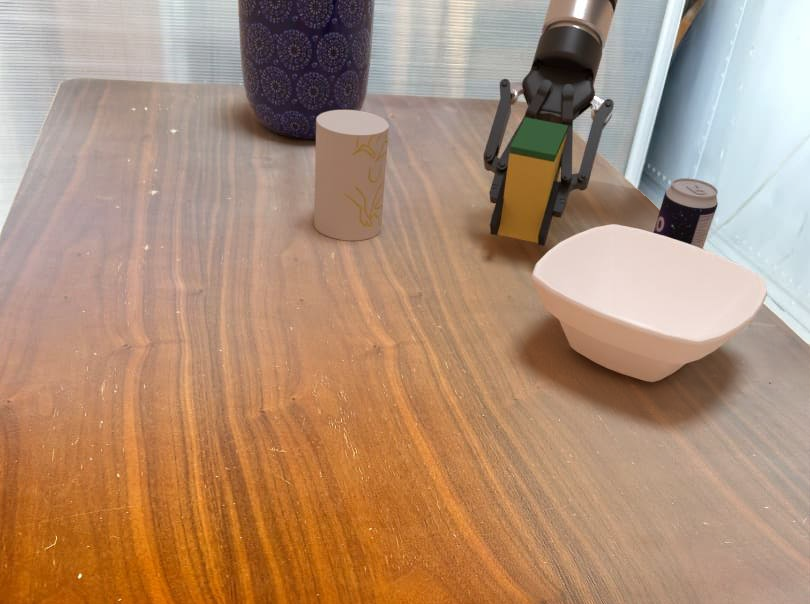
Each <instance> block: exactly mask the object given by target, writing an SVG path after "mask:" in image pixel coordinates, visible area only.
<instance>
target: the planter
mask: <svg viewBox="0 0 810 604" xmlns="http://www.w3.org/2000/svg"><path fill="white" fill-rule="evenodd" d="M237 4H238V5H237V9H238V33H239V35H238V36H239V50H240V51H239V52H240V63H241V64H240V65H241V73H242V82H243V83H242V84H243V88H244V93H245V96H246V99H247V101H248V104H249V107H250V108H251V110H252V112H253V114H254V115H255V116H256V118H257V119H258V120H259V122H260V123H261V124H262V125H263V126H264V127H265V128H267V129H268V130H270V131H272V132H274V133H276V134H279V135H281V136H284V137H288V138H293V139H298V140H299V139H300V140H316V118H317V116H318V115H320V114H322V113H324V112H327V111H333V110H356V111H362V108H363V106H364V104H365V100H366V96H367V92H368V85H369V77H370V70H371V68H370V67H371V59H372V49H373V48H372V45H373V36H374V35H373V34H374V22H375V21H374V19H375V0H237Z"/></svg>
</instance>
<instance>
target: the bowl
mask: <svg viewBox="0 0 810 604" xmlns="http://www.w3.org/2000/svg"><path fill="white" fill-rule="evenodd" d="M530 279H531V282H532V285H533V286H534V289H535V292H536V293H537V296H538V298H539V300H540V302H541V305H542V307H543V308H544V309H545V310H546V311H547V312H548V313H549V314H550V315H553V317H555V318H556V319H557V320H558V321H559V324H560V326H561V329H562V330H563V333H564V335H565V337H566V339H567V342H568V344H569V346H570V348H571V349H573V350H574V351H575V352H576V353H578V354H580V355H581V356H583V357H585V358H587V360H588V359H589V360H590V361H592V362H594V363H596V364H597V365H599V366H601V367H604V368H606V369H608V370H611V371H613V372H616V373H618V374H621V375H625V376H627V377H631V378H634V379H637V380H641V381H643V382H644V381H645V382H649V383H654V382H658V381H661V380H663V379H665V378H667V377H668V376H671V375H672V374H674V373H676V372H677V371H679V370H680V369H681V368H683V367H684V366H685V365H686V364H689V363H692V362H696V361H699V360H700V359H702V358H703V359H704V357H706V356H708V355H709V354H712V353H713V352H715V351H717V350H718V349H719V348H721V347H722V346H724V344H726V343H727V342H728V341H729V340H731V339H732V338H733V337H735V336H736V335H737V334H738V333H740V332H741V331H742V330H743V329H745V328H747V326H748V325H749V324H751V323H752V322H753V321H754V319H755V318H756V317H757V315H758V314H759V312H760V311H761V309H762V307H763V305H764V303H765V301H766V298H767V296H768V291H767V281H766V279H765V278H764V277H763V276H761V275H759V274H758V273H756V272H754V271H752V270H751V269H749V268H747V267H746V266H744V265H741V264H740V263H737V262H735V261H732V260H730V259H728V258H726V257H725V256H721V255H719V254H716V253H713V252H711V251H709V250H706V249H704V248H703V249H701V248H699V247H696V246H693V245H690V244H687V243H684V242H681V241H678V240H675V239H672V238H669V237H666V236H663V235H659V234H656V233H653V232H652V231H648V230H645V229H641V228H637V227H632V226H626V225H622V224H615V223H613V224H612V223H611V224H605V225H601V226H600V225H599V226H595V227H591V228H589V229H587V230H584V231H582V232H578V233H576V234H574V235H572V236H570V237H568V238H566V239H564V240H562V241H560V242H558V243H557V244H556V245H554V246H553V247H552V248H551V249H549V250H548V251H546V253H545V254H544V255H543V256H541V258H540V259H539V260H538V261H537V262H536V263H535V265H534V267H533V271H532V274H531V278H530Z"/></svg>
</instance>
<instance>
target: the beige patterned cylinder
mask: <svg viewBox="0 0 810 604" xmlns="http://www.w3.org/2000/svg"><path fill="white" fill-rule="evenodd" d="M389 128H390V124H389V122H388V121H387V119H385V118H384V117H382V116H379V115H378V114H375V113H371V112H367V111H363V110H361V111H356V110H333V111H327V112H324V113H322V114H320V115H318V116H317V118H316V139H315V156H314V157H315V163H314V199H313V201H314V206H313V210H314V211H313V226H314V228H315V230H317V232H319V233H320V234H321V235H323V236H326V237H328V238H331V239H335V240H340V241H348V242H349V241H350V242H351V241H352V242H355V241H365V240H369V239H372V238H374V237H376V236H378V235H379V234H380V233H381V231H382V220H383V207H384V205H383V204H384V196H385V195H384V193H385V182H386V181H385V179H386V169H387V153H388V141H389V130H390V129H389Z"/></svg>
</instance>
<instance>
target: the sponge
mask: <svg viewBox="0 0 810 604" xmlns="http://www.w3.org/2000/svg"><path fill="white" fill-rule="evenodd" d="M567 130H568V125H563V124H557V123H552V122H547V121H542V120H537V119H531V118H526V117H525V119H524V121H523V123H522V125H521V127H520V129H519V131H518V133H517V135H516V137H515V139H514V140H513V142H512V144H511V146H510V154H509V161H508V168H507V176H506V183H505V191H504V198H503V199H504V201H503V208H502V215H501V221H500V227H499V230H498V235H499V236H504V237H509V238H512V239H517V240H522V241H527V242H531V243H536V244H538V234H539V231H540V227H541V224H542V220H543V217H544V213H545V210H546V207H547V203H548V200H549V196H550V192H551V189H552V185H553V182H554V181H558V182H559V178H560V175H561V155H562V151H563V147H564V144H565V140H566V136H567Z"/></svg>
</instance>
